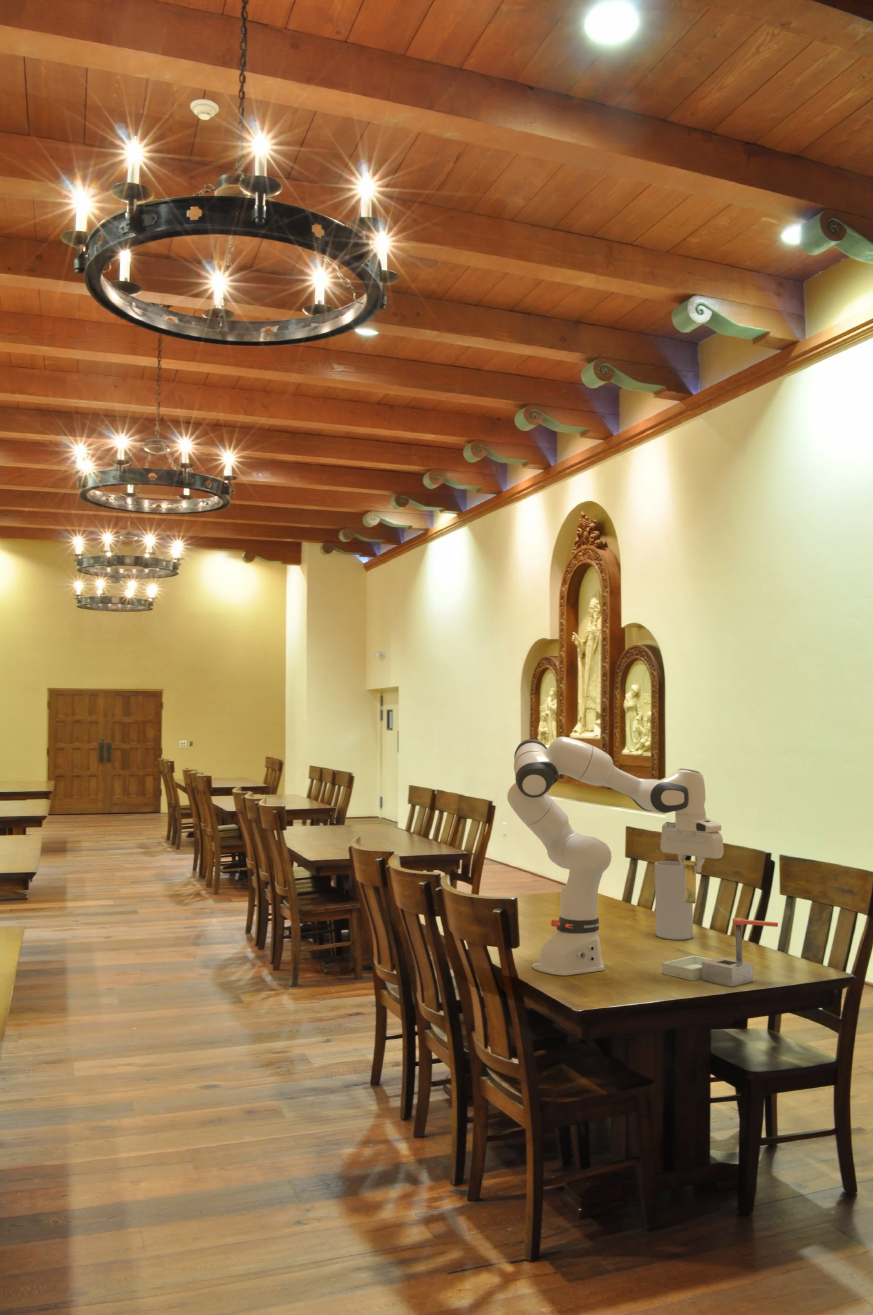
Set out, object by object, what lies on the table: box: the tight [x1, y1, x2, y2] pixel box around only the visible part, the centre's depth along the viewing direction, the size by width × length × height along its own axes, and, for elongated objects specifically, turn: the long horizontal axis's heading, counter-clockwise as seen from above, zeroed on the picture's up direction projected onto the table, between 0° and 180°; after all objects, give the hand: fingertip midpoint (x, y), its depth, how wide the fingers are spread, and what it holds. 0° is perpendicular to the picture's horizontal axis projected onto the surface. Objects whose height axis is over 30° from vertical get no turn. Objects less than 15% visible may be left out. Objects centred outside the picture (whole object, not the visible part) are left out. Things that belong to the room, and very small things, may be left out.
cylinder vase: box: [654, 860, 694, 941], centre depth 336 cm, size 12×12×25 cm
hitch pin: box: [683, 860, 698, 904], centre depth 286 cm, size 4×4×12 cm
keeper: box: [732, 917, 779, 928], centre depth 278 cm, size 12×3×1 cm, turn 63°
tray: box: [661, 955, 712, 981], centre depth 284 cm, size 16×11×3 cm
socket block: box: [701, 924, 754, 988], centre depth 276 cm, size 12×10×15 cm
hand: (691, 871), depth 286 cm, fingers closed on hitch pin, 3 cm apart
